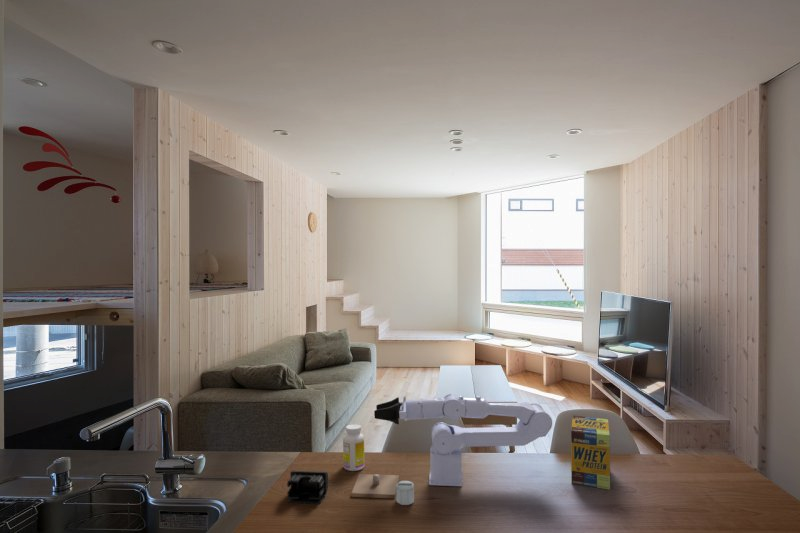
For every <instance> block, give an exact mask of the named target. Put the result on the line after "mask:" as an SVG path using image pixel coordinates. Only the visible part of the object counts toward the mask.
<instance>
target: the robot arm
mask: <svg viewBox="0 0 800 533" xmlns="http://www.w3.org/2000/svg"><path fill="white" fill-rule="evenodd" d="M402 397H403V399H402V401H400V398H399V396H397V397H395V398H394V399H392V400H390V401H386V402H382V403H378V404H376V409H375V410H374V419H376V420H382V421H388V422H391V423H393V424H396V425H400V421H399V420H403V421H405V422H406V421H411V420H423V419H425V420H426V419H427V420H428V419H439V418H440V419H441V418H447V419H449V420H452V421H457V420H459V419H460V418H467V419H485V418H486V417H488V416H489V415H492V416H502V417H513V418H517V419H518V420H519V421H517V423H516V425H515V426H504V427H501V426H500V427H499V426H497V427H496V426H495V427H490V426H489V427H462V426H461V427H460V426H458V425H454V424H453V425H450V424H448V423H445V422H437V423H435V424H433V426H432V427H431V430H430V436H431V439H432V440H431V441H432V445H431V446H430V448H429V449H430V454H429V455H430V456H429V457H430V458H429V459H430V471H429V480H428V485H429V486H446V487H447V486H449V487H462V486H463V476H464V471H463V469H462V468H463V467H462V466H463V465H462V462H463V460H462V458H463V457H462V450H461V449H462V448H465V447H466V448H467V447H516V446H517V447H521V446H526V445H529V444H530V443H532V442H534V441H536V440H537V439H539V438H543V437H546V436H547V435H548V434H549V432H550V431H551V429H552V426H553V420H552V416H550V415H549V413H548V412H546V410H544V408H543V407H542V406H541V405H540V404H538V403H535V402H533V403H532V402H531V403H530V402H526V401H522V402H488V401H487V400H486V399H485V398H483V397H481V396H480V395H475V397H464V396H463V395H459V397H458V396H456V395H453V394H451V393H448V394H446V395H445V396H443V397H430V398H429V397H427V398H413V399H412V398H411V399H407V396H406V395H403V396H402Z"/></svg>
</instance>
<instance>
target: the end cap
mask: <svg viewBox="0 0 800 533" xmlns="http://www.w3.org/2000/svg"><path fill="white" fill-rule="evenodd" d="M286 486H287V488H289V489H288V491H287V492H286V494H287V498H288V500H287V501H288V503H289V504H304V503H305V504H311V505H321V504H322V502H323V500H324V498H325V497H326V496H325V495H327V492H328V487H329V474H328V471H320V470H319V471H316V470H313V471H312V470H291V471H290V478H289V480H288V481H287V483H286ZM305 504H304V505H305Z"/></svg>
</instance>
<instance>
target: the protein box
mask: <svg viewBox="0 0 800 533" xmlns="http://www.w3.org/2000/svg"><path fill="white" fill-rule="evenodd" d="M609 423H610V422H609V419H607V418H598V417H591V416H590V417H589V416H581V415H572V421H571V429H570V464H571V466H570V467H571V468H570V471H571V477H570V478H571V485H572V484H573V485H578V486H584V487H589V488H590V487H591V488H598V489H602V490H603V489H604V490H611V436H610V435H611V434H610V424H609Z"/></svg>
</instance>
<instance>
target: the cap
mask: <svg viewBox="0 0 800 533" xmlns="http://www.w3.org/2000/svg"><path fill="white" fill-rule="evenodd" d="M414 485H415V484H414V482H412V481H410V480H401V481H400V480H399V481H398V483H397V488H396V495H395V498H396V500H395V501H396V503H397V504H399V505H402V506H403V505H404V506H409V505H411V504H413V503H414V502H415V486H414Z"/></svg>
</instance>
